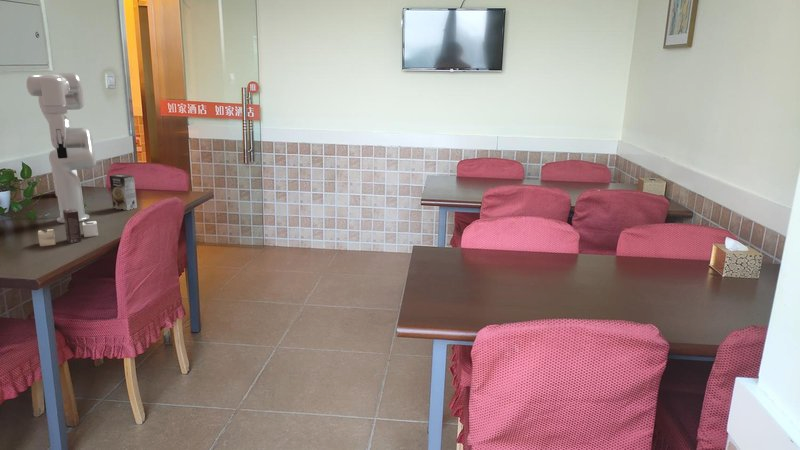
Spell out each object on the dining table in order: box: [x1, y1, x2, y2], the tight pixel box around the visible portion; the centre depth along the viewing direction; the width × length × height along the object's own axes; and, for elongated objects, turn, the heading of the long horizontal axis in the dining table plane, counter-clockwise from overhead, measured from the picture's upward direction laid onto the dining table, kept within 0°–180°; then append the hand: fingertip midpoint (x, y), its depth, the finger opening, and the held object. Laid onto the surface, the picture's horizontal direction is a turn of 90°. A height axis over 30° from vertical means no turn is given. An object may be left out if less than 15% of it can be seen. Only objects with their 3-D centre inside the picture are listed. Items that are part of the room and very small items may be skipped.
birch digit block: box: [37, 228, 56, 247], centre depth 221 cm, size 5×5×5 cm
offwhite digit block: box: [81, 220, 99, 238], centre depth 233 cm, size 5×5×5 cm
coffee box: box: [109, 173, 138, 211], centre depth 275 cm, size 9×6×16 cm
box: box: [63, 209, 82, 244], centre depth 224 cm, size 6×4×12 cm
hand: (62, 157), depth 226 cm, fingers closed
